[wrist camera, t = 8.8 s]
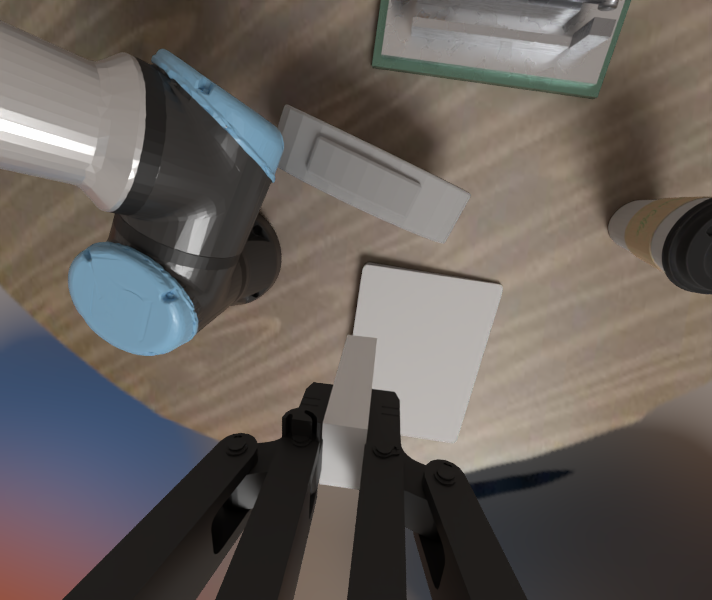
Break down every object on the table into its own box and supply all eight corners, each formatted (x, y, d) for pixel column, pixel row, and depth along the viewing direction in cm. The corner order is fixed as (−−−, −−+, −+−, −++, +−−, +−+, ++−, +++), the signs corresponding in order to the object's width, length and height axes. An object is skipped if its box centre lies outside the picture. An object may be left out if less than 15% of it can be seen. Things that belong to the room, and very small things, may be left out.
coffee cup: (617, 176, 43) (719, 180, 30) (691, 198, 43) (829, 213, 29) (579, 249, 47) (654, 283, 33) (648, 269, 47) (753, 312, 33)
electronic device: (364, 260, 52) (363, 264, 50) (502, 283, 50) (506, 287, 48) (341, 417, 62) (339, 425, 60) (455, 440, 61) (456, 448, 59)
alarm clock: (462, 190, 46) (483, 198, 34) (439, 233, 48) (451, 254, 37) (301, 112, 45) (265, 92, 33) (285, 159, 48) (246, 156, 36)
